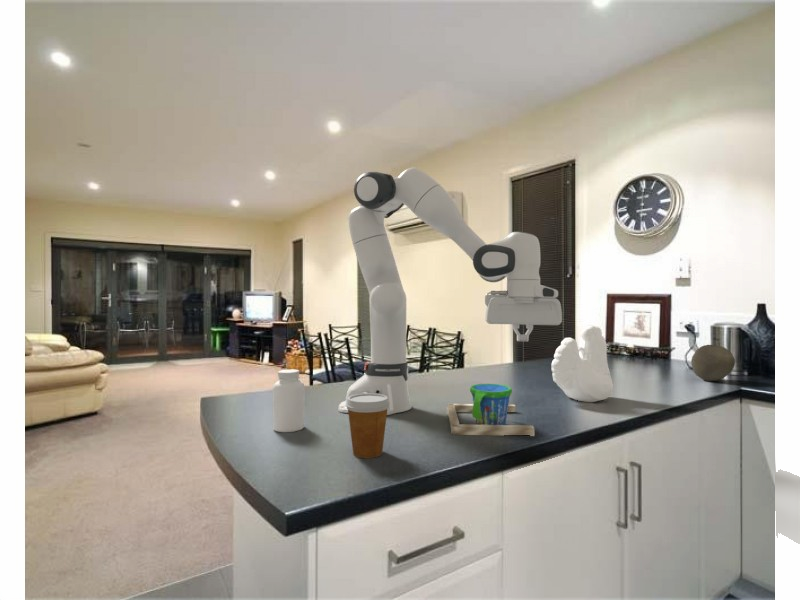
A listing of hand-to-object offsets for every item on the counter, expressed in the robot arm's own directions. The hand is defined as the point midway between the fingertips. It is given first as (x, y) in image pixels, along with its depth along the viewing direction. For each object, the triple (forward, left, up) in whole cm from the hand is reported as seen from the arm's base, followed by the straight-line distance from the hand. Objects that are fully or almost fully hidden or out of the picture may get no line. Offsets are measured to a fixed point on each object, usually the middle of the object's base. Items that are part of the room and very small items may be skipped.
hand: (522, 341), depth 117 cm
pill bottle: (-62, -10, -22) cm, 67 cm away
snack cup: (-9, -5, -22) cm, 25 cm away
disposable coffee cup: (-39, -27, -22) cm, 53 cm away
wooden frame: (-10, -1, -22) cm, 24 cm away
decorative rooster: (+24, +27, -22) cm, 42 cm away
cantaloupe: (+92, +65, -22) cm, 115 cm away
